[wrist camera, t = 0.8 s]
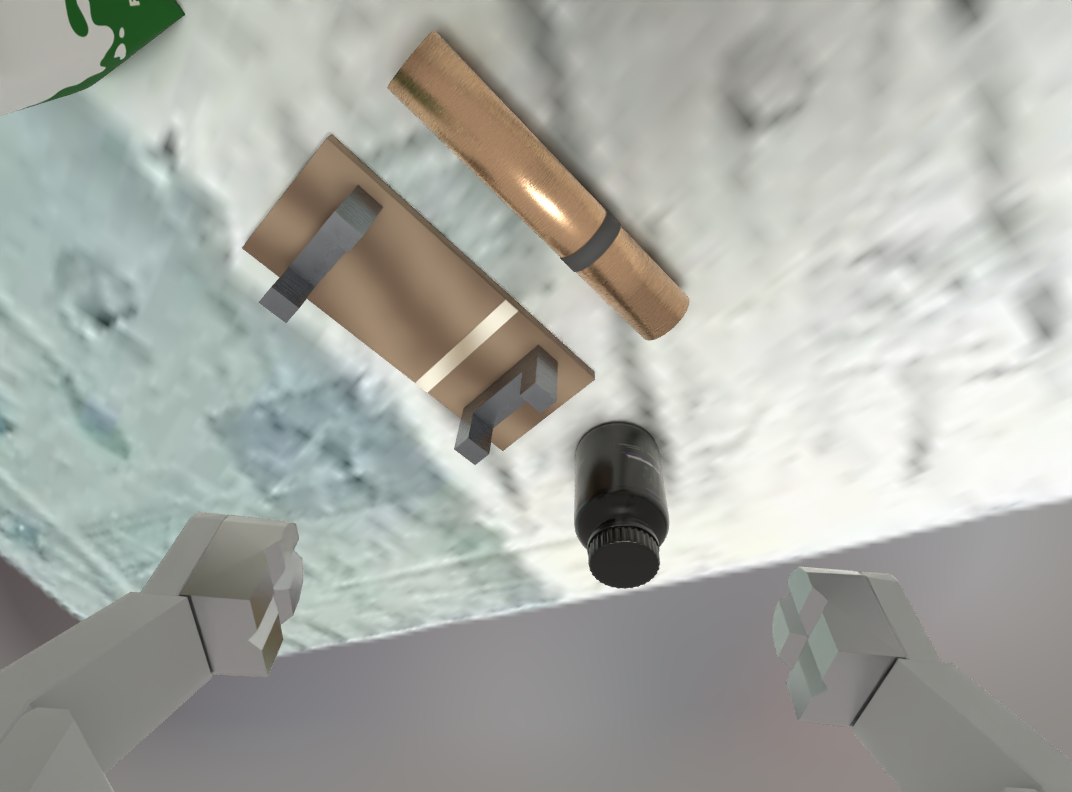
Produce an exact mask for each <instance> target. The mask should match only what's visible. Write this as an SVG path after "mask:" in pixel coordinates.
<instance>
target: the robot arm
mask: <svg viewBox="0 0 1072 792" xmlns="http://www.w3.org/2000/svg"><path fill="white" fill-rule="evenodd" d="M298 540H299V536H298V531H297V526H296V524H295V523H293V522H289V521H280V520H271V519H263V518H254V517H245V516H236V515H223V514H214V513H206V512H198V513H197V514H195V515H194V516H192V517H191V518H190V519H189V520H188V522H187V523H186V525H185V526H184V528H183V529H182V531H181V532H180V534H179V535H178V537H177V538H176V540H175V541H174V543H173V544H172V546H171V547H170V549H169V550H168V552H167V553H166V555H165V556H164V558H163V559H162V561H161V562H160V564H159V565H158V567H157V568H156V570H155V571H154V573H153V574H152V576H151V577H150V579H149V580H148V582H147V583H146V585H145V586H144V588H143V589H142V591H141V592H130V593H128V594H126V595H125V596H123V597H121V598H120V599H118V600H116V601H115V602H113V603H111V604H110V605H108V606H106V607H105V608H103V609H101V610H100V611H98V612H96V613H95V614H93V615H91V616H90V617H88V618H86V619H85V620H83V621H82V622H80V623H78V624H77V625H75V626H74V627H72V628H70V629H68V630H67V631H65V632H63V633H62V634H60V635H58V636H57V637H55V638H53V639H52V640H50V641H48V642H47V643H45V644H44V645H42V646H40V647H38V648H37V649H35V650H33V651H32V652H30V653H28V654H27V655H25V656H24V657H22V658H20V659H19V660H17V661H15V662H14V663H12V664H10V665H9V666H7V667H6V668H4V669H2V670H0V792H114V791H113V789H112V787H111V786H110V784H109V782H108V780H107V778H106V776H105V773H106V772H108V771H109V770H110V769H111V768H112V767H113V766H114V765H115V764H116V763H118V762H119V761H120V760H121V759H122V758H123V757H124V756H125V755H126V754H127V753H129V752H130V751H131V750H132V749H133V748H134V747H135V746H136V745H137V744H138V743H140V742H141V741H142V740H143V739H144V738H145V737H146V736H147V735H148V734H150V733H151V732H152V731H153V730H154V729H155V728H156V727H157V726H158V725H160V724H161V723H162V722H163V721H164V720H165V719H166V718H167V717H169V715H171V714H172V713H173V712H174V711H175V710H176V709H177V708H178V707H180V706H181V705H182V704H183V703H184V702H185V701H186V700H187V699H188V698H190V697H191V696H192V695H193V694H194V693H195V692H196V691H197V690H198V689H200V688H201V687H202V686H203V685H204V684H205V683H206V682H207V681H208V680H210V679H211V678H212V675H211V674H220V675H238V676H256V677H268V675H269V673H270V670H271V667H272V665H273V663H274V661H275V658H276V656H277V654H278V651H279V649H280V646H281V644H282V641H283V635H282V630H281V624H282V623H284V622H285V621H286V620H288V619H289V618H290V617H292V616H293V614H294V612H295V609H296V607H297V604H298V602H299V598H300V594H301V589H302V584H303V561H302V557H301V556H300V555H299V554H298V553H297V552H295V551H294V549H295V546H296V544H297V542H298ZM787 583H788V586H789V588H790V591H791V593H789V594H788V595H786V596H785V597H783V598H781V599H780V600H779V601H778V604H777V606H776V609H775V611H774V614H773V626H772V632H773V640H774V645H775V649H776V652H777V656H778V658H779V659H780V660H781V661H782V662H783V663H784V664H785V665H786V666H787V667H788V668H789V669H790V670H791V673H790V675H789V677H788V679H787V681H786V685H787V688H788V691H789V694H790V697H791V700H792V704H793V707H794V710H795V714H796V717H797V720H798V722H805V723H813V724H822V725H832V726H840V727H849V728H852V730H851V731H852V732H853V734H854V735H855V736H856V737H857V738H858V740H859V741H860V742H861V743H862V744H863V746H864V747H865V748H866V749H867V750H868V751H869V753H870V754H871V755H872V756H873V757H874V759H875V760H876V761H877V762H878V763H879V765H880V766H881V767H882V768H883V769H884V770H885V772H886V773H887V774H888V775H889V776H890V777H891V779H892V780H893V781H894V782H895V783H896V785H897V786H898V787H899V788H900V789H901V791H902V792H1072V760H1070V759H1069V758H1068V757H1067V756H1065V755H1064V754H1063V753H1062V752H1060V751H1059V750H1058V749H1057V748H1055V747H1054V746H1053V745H1052V744H1051V743H1049V742H1048V741H1047V740H1046V739H1044V738H1043V737H1042V736H1041V735H1039V734H1038V733H1037V732H1036V731H1034V730H1033V729H1032V728H1031V727H1029V726H1028V725H1027V724H1026V723H1025V722H1023V721H1022V720H1021V719H1020V718H1018V717H1017V716H1016V715H1015V714H1013V713H1012V712H1011V711H1010V710H1009V709H1008V708H1006V707H1005V706H1004V705H1003V704H1001V703H1000V702H999V701H998V700H996V699H995V698H994V697H993V696H991V695H990V694H989V693H988V692H987V691H985V690H984V689H983V688H982V687H980V686H979V685H978V684H977V683H975V682H974V681H973V680H972V679H971V678H969V677H968V676H967V675H966V674H964V673H963V672H962V671H961V670H959V669H958V668H957V667H956V666H955V665H953V664H952V663H944V662H942V661H941V659H940V657H939V655H938V653H937V651H936V650H935V648H934V646H933V644H932V642H931V641H930V639H929V637H928V635H927V633H926V632H925V630H924V628H923V626H922V624H921V622H920V620H919V619H918V617H917V615H916V613H915V611H914V609H913V608H912V606H911V604H910V602H909V600H908V599H907V597H906V595H905V593H904V591H903V589H902V588H901V586H900V584H899V582H898V580H897V579H896V578H895V577H893V576H892V575H891V574H882V573H881V574H880V573H870V572H856V571H846V570H834V569H821V568H809V567H797V568H796V569H795V570H794V571H792V573H791V575H790V577H789V579H788V581H787Z"/></svg>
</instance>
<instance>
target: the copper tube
mask: <svg viewBox="0 0 1072 792" xmlns="http://www.w3.org/2000/svg"><path fill="white" fill-rule="evenodd" d="M387 88H388V89H389V90H390V91H391V92H392V93H393V94H394V95H395V96H396V97H397V98H398V99H399V100H400V101H401V102H402V103H403V104H404V105H405V106H406V107H407V108H408V109H409V110H410V111H411V112H412V113H413V114H414V115H415V116H416V117H417V118H418V119H419V120H420V121H421V122H422V123H423V124H424V125H426V126H427V127H428V128H429V129H430V130H431V131H432V132H433V133H434V134H435V135H436V136H437V137H438V138H439V139H440V140H441V141H442V142H443V143H444V144H445V145H446V146H447V147H448V148H449V149H450V150H451V151H452V152H453V153H454V154H455V155H456V156H457V157H458V158H459V159H460V160H461V161H462V162H463V163H464V164H465V165H467V166H468V167H469V168H470V169H471V170H472V171H473V172H474V173H475V174H476V175H477V176H478V177H479V178H480V179H481V180H482V181H483V182H484V183H485V184H486V185H487V186H488V187H489V188H490V189H491V190H492V191H493V192H494V193H495V194H496V195H497V196H498V197H499V198H500V199H501V200H502V201H503V202H504V203H505V204H506V205H508V206H509V207H510V208H511V209H512V210H513V211H514V212H515V213H516V214H517V215H518V216H519V217H520V218H521V219H522V220H523V221H524V222H525V223H526V224H527V225H528V226H529V227H530V228H531V229H532V230H533V231H534V232H535V233H536V234H537V235H538V236H539V237H540V238H541V239H542V240H543V241H544V242H545V243H546V244H547V245H549V246H550V247H551V248H552V249H553V250H554V251H555V252H556V253H557V254H558V255H559V256H560V259H561V260H563V261H564V262H565V263H566V264H567V265H568V266H569V267H570V268H571V269H572V270H573V271H574V272H576V273H577V274H578V275H579V276H580V277H581V278H582V279H583V280H584V281H585V282H586V283H587V284H588V285H589V286H591V287H592V288H593V289H594V290H595V291H596V292H597V293H598V294H599V295H600V296H601V297H602V298H603V299H604V300H605V301H606V302H607V303H608V304H609V305H610V306H611V307H612V308H613V309H614V310H615V311H616V312H617V313H618V314H619V315H620V316H621V317H622V318H623V319H624V320H625V321H626V322H627V323H628V324H629V325H630V326H632V327H633V328H634V329H635V330H636V331H637V332H638V333H639V334H640V335H641V336H642V337H643V338H644V339H645V340H654V339H657V338H659V337H661V336H663V335H664V334H666V333H667V332H669V331H670V330H671V329H672V328H673V327H674V326H675V325H676V324H677V323H678V322H679V321H680V320H681V319H682V317H683V316H684V314H685V313H686V311H687V309H688V306H689V298H688V296H687V295H686V294H685V293H684V292H683V291H682V290H681V289H680V288H679V287H678V286H677V285H676V284H675V283H674V282H673V280H672V279H671V278H670V277H669V276H668V275H667V274H666V273H665V272H664V271H663V270H662V269H661V268H660V267H659V266H658V265H657V264H656V263H655V262H654V260H653V259H652V258H651V257H650V256H649V255H648V254H647V253H646V252H645V251H644V250H643V249H642V248H641V247H640V246H639V245H638V244H637V243H636V242H635V240H634V239H633V238H632V237H631V236H630V235H629V234H628V233H627V232H626V231H625V230H624V229H623V228H622V227H621V225H620V223H619V222H618V221H617V220H616V219H615V218H614V217H613V216H612V215H611V214H610V213H609V212H608V211H607V210H606V209H604V208H603V207H602V206H601V205H600V204H599V203H598V202H597V200H596V199H595V198H594V197H593V196H592V195H591V194H590V193H589V192H588V191H587V190H586V189H585V188H584V187H583V186H582V185H581V184H580V183H579V182H578V180H577V179H576V178H575V177H574V176H573V175H572V174H571V173H570V172H569V171H568V170H567V169H566V168H565V167H564V166H563V165H562V164H561V163H560V162H559V160H558V159H557V158H556V157H555V156H554V155H553V154H552V153H551V152H550V151H549V150H548V149H547V148H546V147H545V146H544V145H543V144H542V143H541V142H540V140H539V139H538V138H537V137H536V136H535V135H534V134H533V133H532V132H531V131H530V130H529V129H528V128H527V127H526V126H525V125H524V124H523V123H522V122H521V120H520V119H519V118H518V117H517V116H516V115H515V114H514V113H513V112H512V111H511V110H510V109H509V108H508V107H507V106H506V105H505V104H504V103H503V102H502V100H501V99H500V98H499V97H498V96H497V95H496V94H495V93H494V92H493V91H492V90H491V89H490V88H489V87H488V86H487V85H486V84H485V83H484V82H483V80H482V79H481V78H480V77H479V76H478V75H477V74H476V73H475V72H474V71H473V70H472V69H471V68H470V67H469V66H468V65H467V64H466V63H465V62H464V60H463V59H462V58H461V57H460V56H459V55H458V54H457V53H456V52H455V51H454V50H453V49H452V48H451V47H450V46H449V45H448V44H447V43H446V42H445V40H444V39H443V38H442V37H441V36H440V35H439V34H438V33H437V32H436V31H435V30H434V31H433V32H431V33H430V34H429V35H428V36H427V38H426V39H425V40H424V41H423V42H422V43H421V44H420V45H419V46H418V48H417V49H416V50H415V51H414V52H413V54H412V55H411V56H410V57H409V58H408V60H407V61H406V62H405V63H404V65H403V66H402V67H401V68H400V70H399V71H398V72H397V74H396V75H395V76H394V78H393V79H392V81H391V82H390V84H389V85H388V87H387Z"/></svg>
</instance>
